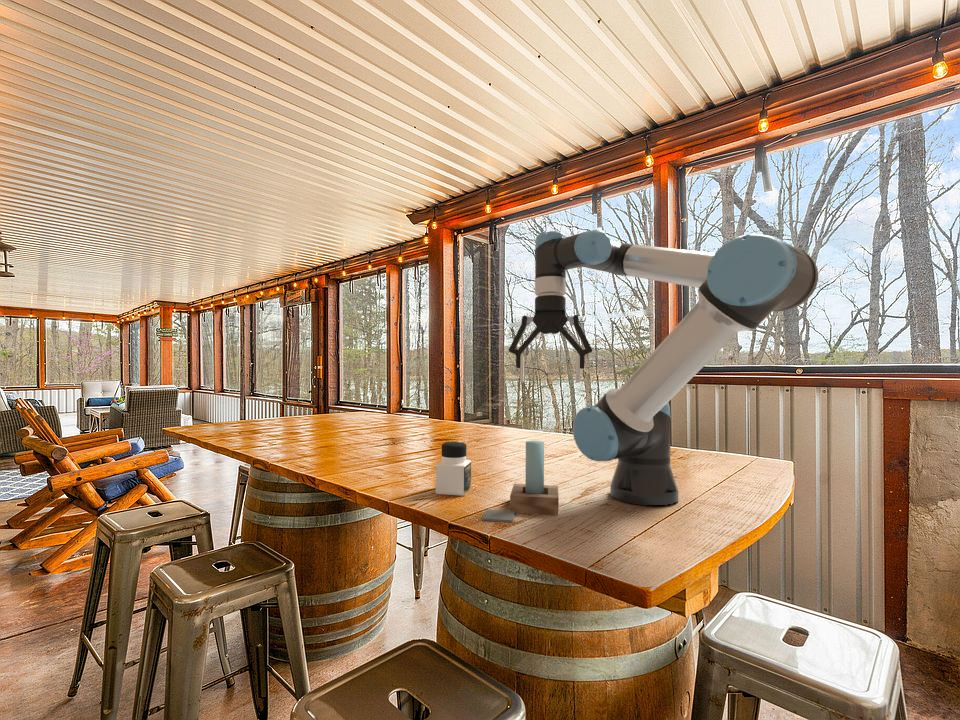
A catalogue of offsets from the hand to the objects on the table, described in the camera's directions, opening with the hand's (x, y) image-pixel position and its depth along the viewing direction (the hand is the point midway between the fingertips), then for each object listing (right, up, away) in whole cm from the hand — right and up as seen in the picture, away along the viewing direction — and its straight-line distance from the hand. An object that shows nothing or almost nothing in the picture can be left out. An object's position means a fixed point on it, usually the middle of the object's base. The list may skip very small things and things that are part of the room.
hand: (549, 382), depth 116 cm
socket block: (-5, -27, -14) cm, 30 cm away
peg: (-5, -27, -14) cm, 30 cm away
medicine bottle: (-24, -27, -2) cm, 36 cm away
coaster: (-13, -26, -21) cm, 36 cm away
